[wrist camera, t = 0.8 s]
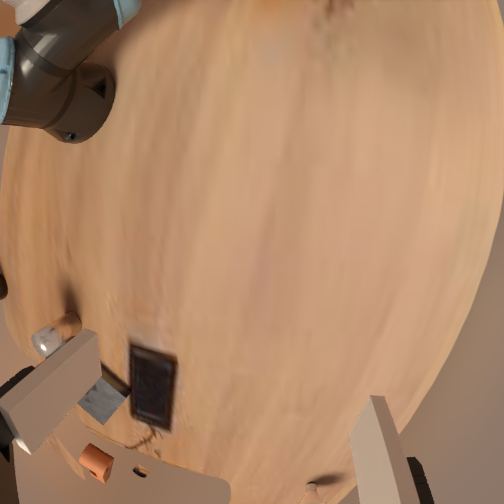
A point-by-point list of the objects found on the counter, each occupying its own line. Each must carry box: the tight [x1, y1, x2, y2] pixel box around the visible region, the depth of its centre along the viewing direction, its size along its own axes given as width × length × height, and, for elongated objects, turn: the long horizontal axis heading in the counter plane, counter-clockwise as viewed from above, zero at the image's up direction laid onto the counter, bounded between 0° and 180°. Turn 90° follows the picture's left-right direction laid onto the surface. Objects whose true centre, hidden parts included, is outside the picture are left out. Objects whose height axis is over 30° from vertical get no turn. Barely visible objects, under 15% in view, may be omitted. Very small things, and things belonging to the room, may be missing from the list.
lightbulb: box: [299, 483, 324, 504], centre depth 47 cm, size 6×6×11 cm
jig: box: [35, 338, 131, 425], centre depth 49 cm, size 20×16×7 cm
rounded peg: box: [32, 312, 82, 357], centre depth 44 cm, size 5×5×11 cm
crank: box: [79, 443, 114, 483], centre depth 58 cm, size 20×8×8 cm, turn 154°
